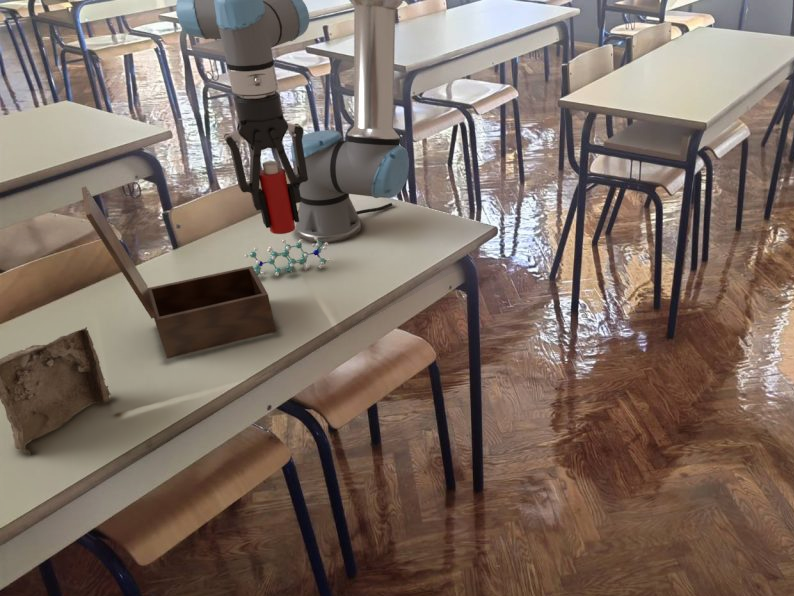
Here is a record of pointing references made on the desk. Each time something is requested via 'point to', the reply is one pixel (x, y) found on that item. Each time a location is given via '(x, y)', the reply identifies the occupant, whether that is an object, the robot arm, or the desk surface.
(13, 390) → the mineral sample
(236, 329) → the storage box
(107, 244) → the lid
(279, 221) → the bottle
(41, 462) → the desk surface
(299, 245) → the molecule model
